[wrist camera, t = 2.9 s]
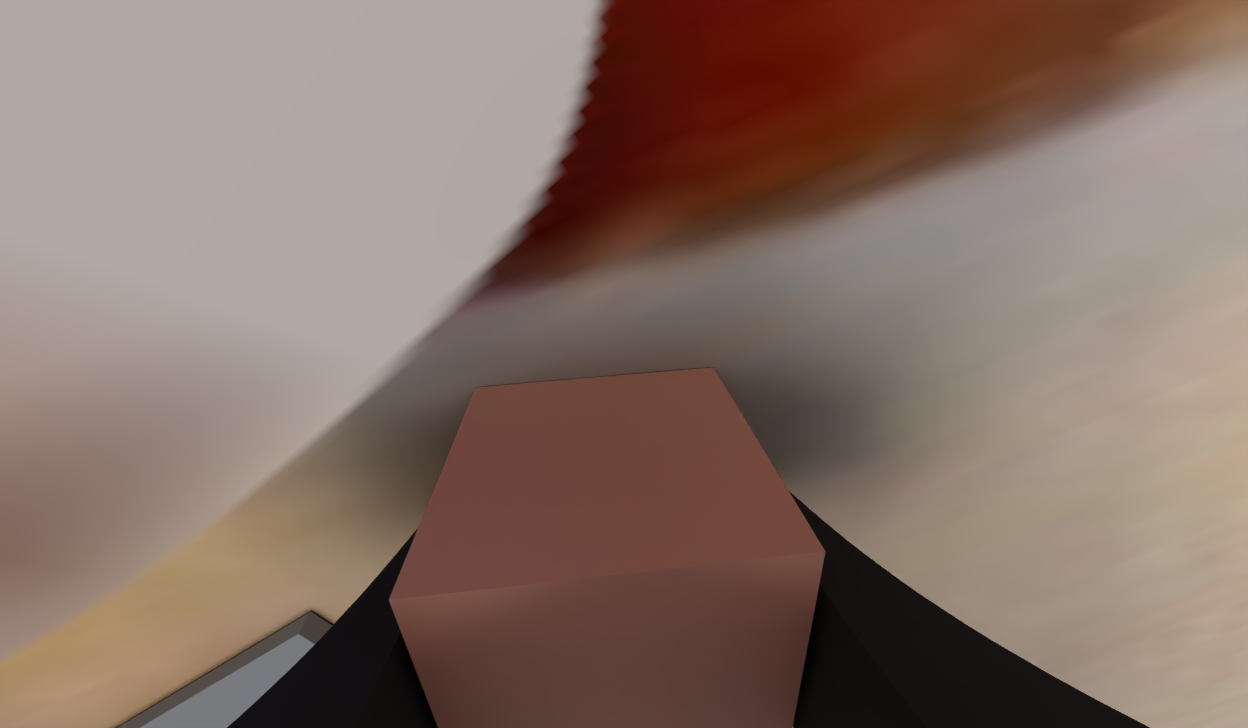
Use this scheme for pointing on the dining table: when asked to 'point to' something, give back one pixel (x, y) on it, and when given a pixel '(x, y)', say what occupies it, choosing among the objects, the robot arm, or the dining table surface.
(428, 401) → the dining table surface
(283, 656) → the slate mat
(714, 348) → the dining table surface
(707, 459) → the brick cube
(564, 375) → the dining table surface
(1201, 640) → the dining table surface
